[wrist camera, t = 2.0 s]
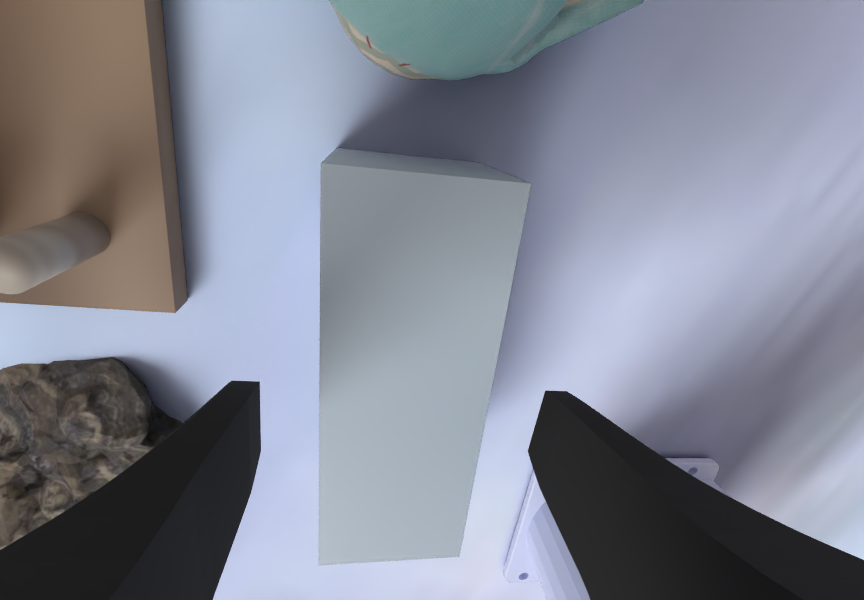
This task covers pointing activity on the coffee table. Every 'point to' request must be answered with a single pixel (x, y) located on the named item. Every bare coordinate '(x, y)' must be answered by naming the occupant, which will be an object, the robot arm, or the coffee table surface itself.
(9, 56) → the peg stand
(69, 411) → the geode
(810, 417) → the coffee table surface
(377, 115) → the coffee table surface
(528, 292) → the coffee table surface
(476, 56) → the stuffed animal
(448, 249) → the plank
